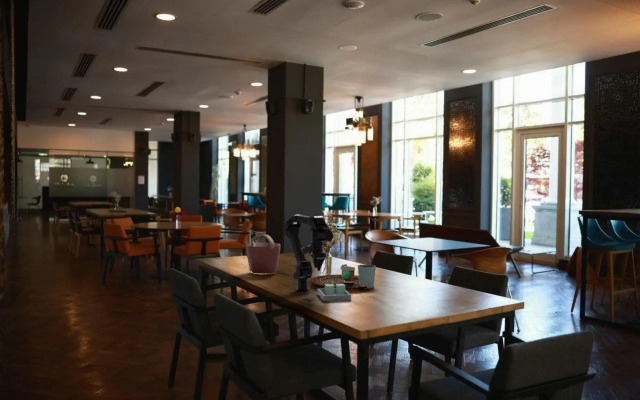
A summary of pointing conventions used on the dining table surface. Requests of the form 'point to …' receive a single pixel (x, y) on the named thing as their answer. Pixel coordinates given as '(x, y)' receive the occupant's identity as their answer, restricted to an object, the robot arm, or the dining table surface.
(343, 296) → the tray
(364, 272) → the grey green cylinder
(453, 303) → the dining table surface
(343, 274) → the food container
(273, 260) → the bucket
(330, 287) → the block
